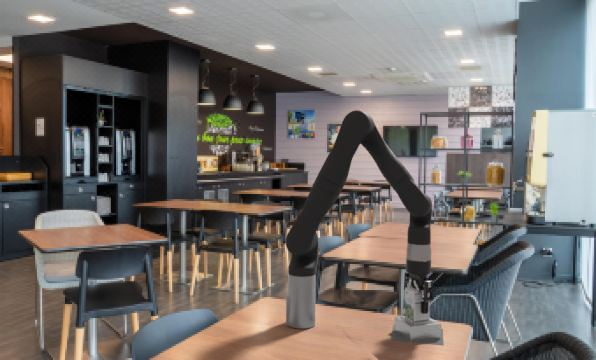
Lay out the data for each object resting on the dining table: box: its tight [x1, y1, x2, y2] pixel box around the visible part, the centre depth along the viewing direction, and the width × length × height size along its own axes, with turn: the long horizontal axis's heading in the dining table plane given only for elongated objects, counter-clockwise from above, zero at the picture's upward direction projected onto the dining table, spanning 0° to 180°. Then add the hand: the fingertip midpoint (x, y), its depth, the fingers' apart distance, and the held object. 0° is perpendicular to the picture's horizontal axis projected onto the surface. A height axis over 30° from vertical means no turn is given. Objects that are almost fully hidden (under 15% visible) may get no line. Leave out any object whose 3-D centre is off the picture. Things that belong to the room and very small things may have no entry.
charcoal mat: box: [389, 324, 445, 346], centre depth 165 cm, size 16×16×1 cm
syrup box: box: [404, 287, 430, 325], centre depth 164 cm, size 6×6×14 cm
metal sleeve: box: [394, 315, 442, 341], centre depth 164 cm, size 10×10×4 cm
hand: (417, 309), depth 164 cm, fingers open, 8 cm apart
